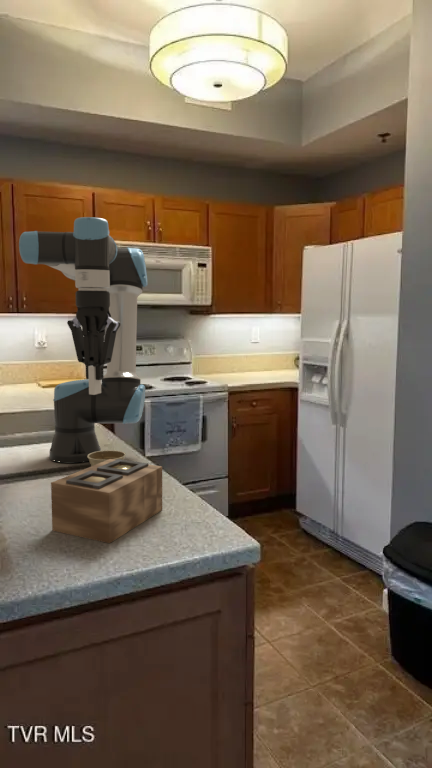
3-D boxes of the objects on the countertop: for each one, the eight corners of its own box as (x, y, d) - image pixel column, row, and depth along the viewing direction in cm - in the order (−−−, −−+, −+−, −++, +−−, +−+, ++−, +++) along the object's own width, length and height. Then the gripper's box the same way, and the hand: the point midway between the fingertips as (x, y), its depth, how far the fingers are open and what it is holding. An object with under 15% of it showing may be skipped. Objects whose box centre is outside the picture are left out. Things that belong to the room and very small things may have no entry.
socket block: (110, 500, 129) (110, 456, 128) (162, 509, 123) (162, 463, 122) (52, 530, 111) (50, 479, 110) (109, 543, 105) (108, 489, 104)
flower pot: (80, 488, 138) (79, 454, 136) (111, 480, 144) (110, 448, 143) (102, 497, 131) (102, 462, 130) (133, 488, 138) (133, 454, 137)
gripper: (58, 289, 122) (61, 393, 126) (107, 289, 117) (110, 398, 121) (78, 289, 129) (81, 388, 132) (126, 290, 124) (128, 393, 127)
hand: (95, 393), depth 127 cm, fingers closed
